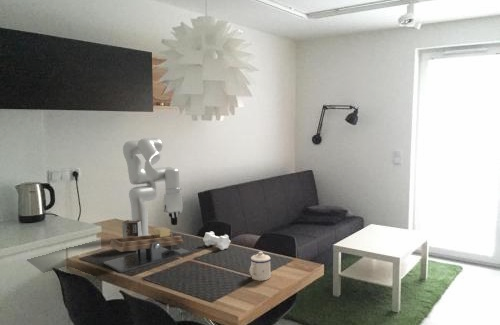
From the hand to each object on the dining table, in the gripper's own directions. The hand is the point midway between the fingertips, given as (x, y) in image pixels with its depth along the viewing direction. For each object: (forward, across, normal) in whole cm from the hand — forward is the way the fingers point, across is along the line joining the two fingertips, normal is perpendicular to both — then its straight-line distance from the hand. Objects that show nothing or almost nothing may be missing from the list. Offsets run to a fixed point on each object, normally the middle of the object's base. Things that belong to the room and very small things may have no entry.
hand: (174, 224), depth 220 cm
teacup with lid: (+17, -4, +60) cm, 62 cm away
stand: (+15, +16, -1) cm, 22 cm away
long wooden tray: (+11, +16, -1) cm, 20 cm away
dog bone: (+16, -21, +10) cm, 28 cm away
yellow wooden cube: (+7, +8, -1) cm, 11 cm away
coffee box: (+15, +14, -21) cm, 29 cm away
